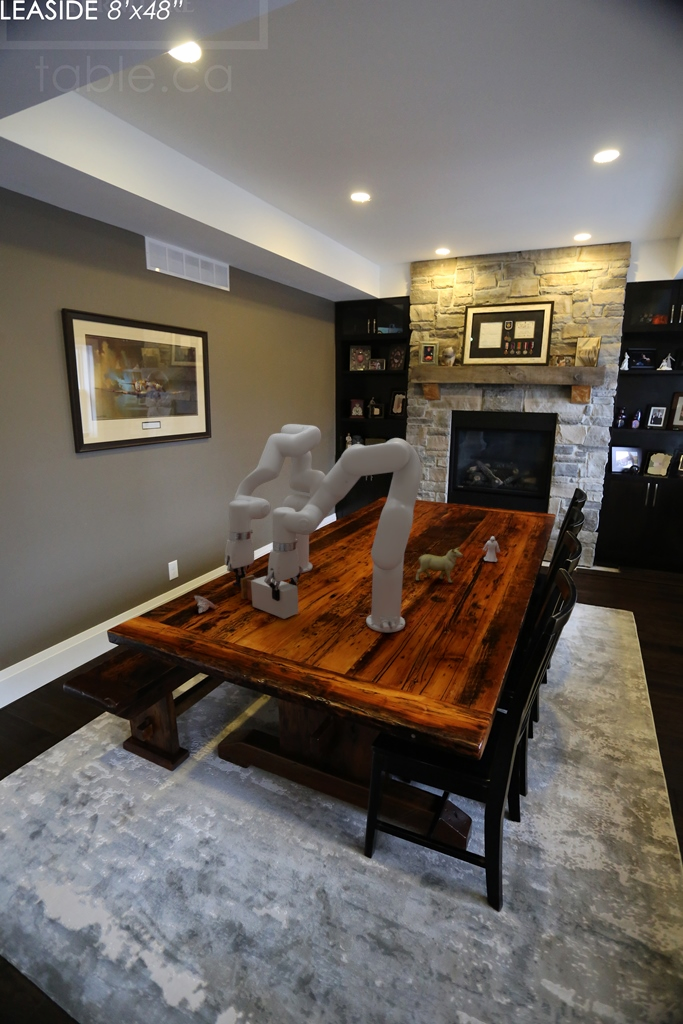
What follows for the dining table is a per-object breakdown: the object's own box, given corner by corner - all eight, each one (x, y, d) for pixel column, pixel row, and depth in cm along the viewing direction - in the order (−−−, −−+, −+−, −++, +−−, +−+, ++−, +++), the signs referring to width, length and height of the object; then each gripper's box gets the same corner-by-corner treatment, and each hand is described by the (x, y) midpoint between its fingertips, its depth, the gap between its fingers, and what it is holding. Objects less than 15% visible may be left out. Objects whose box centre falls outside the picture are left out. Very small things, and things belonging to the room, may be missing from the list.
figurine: (481, 562, 222) (483, 536, 219) (482, 556, 230) (484, 531, 227) (499, 564, 220) (501, 538, 217) (499, 558, 228) (501, 533, 225)
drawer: (232, 595, 182) (230, 575, 181) (243, 591, 186) (242, 571, 185) (269, 609, 169) (268, 588, 167) (281, 604, 172) (280, 584, 171)
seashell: (200, 621, 170) (185, 603, 169) (211, 610, 173) (196, 593, 173) (208, 616, 164) (192, 598, 163) (220, 606, 167) (204, 588, 166)
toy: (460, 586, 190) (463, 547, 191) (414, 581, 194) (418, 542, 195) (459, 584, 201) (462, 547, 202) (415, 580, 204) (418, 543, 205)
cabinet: (252, 606, 174) (250, 580, 172) (266, 600, 179) (265, 575, 177) (284, 619, 163) (283, 591, 161) (298, 612, 168) (297, 586, 166)
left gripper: (250, 529, 185) (250, 576, 189) (215, 536, 174) (217, 586, 178) (263, 533, 180) (263, 581, 184) (228, 541, 169) (229, 592, 173)
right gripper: (296, 537, 170) (296, 586, 175) (255, 548, 158) (256, 600, 163) (311, 542, 166) (311, 592, 170) (270, 554, 153) (271, 607, 158)
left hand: (240, 583), depth 181 cm, fingers closed
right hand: (284, 596), depth 166 cm, fingers closed on cabinet, 6 cm apart
